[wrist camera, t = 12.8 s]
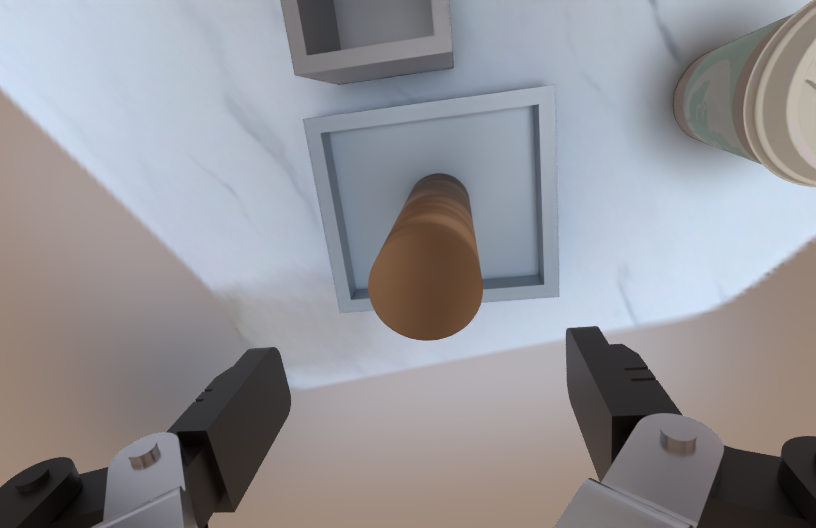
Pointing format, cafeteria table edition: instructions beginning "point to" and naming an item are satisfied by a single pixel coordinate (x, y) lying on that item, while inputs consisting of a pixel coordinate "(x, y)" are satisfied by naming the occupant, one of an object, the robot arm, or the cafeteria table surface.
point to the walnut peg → (429, 263)
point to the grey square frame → (367, 38)
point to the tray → (454, 155)
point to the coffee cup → (758, 97)
